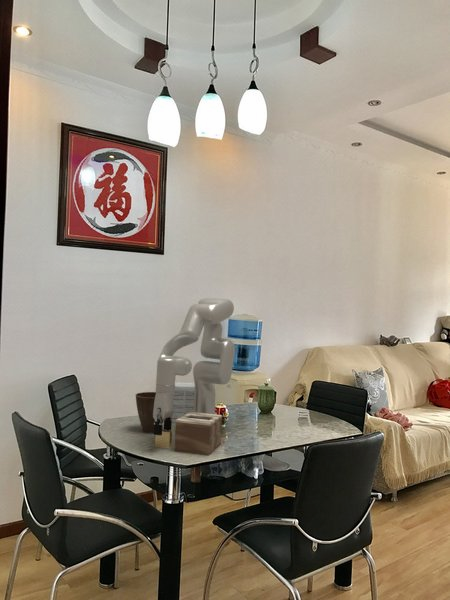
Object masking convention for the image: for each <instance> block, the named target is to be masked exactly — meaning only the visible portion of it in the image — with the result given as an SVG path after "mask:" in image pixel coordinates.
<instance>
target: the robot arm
mask: <svg viewBox="0 0 450 600" xmlns="http://www.w3.org/2000/svg"><path fill="white" fill-rule="evenodd" d="M234 310H235V305H234V303H233V302H232V300H230V299H228V298H211V297H210V298H208V297H207V298H206V297H205V298H202V299H200V300H199V301H198V303H194V304H191V306H190V307H189V309H188V312H187V313H186V317H185V318H184V321H183V323H182V325H181V328H180V331H179V332H178V333H177V334H175V335H174V336H173V337H171V339H170V340H168V341H167V342H166V344H164V345H163V347H162V350H161V352H160V355H159V356H158V359H157V361H156V364H157V365H156V377H155V378H156V379H155V392H156V396H155V401H154V409H153V418H154V432H153V435H155V436H156V435H160V436H161V435H162V430H168V431H172V423H173V422H172V415H173V394H174V393H175V382H176V376H187V375H189V374H190V373H191V371H192V374H193V383H194V385H195V393H194V412H195V413H205V414H215V415H216V395H217V394H216V389H215V386H214V385H213V384H216V385H227V384H229V382H230V380H231V377H232V373H233V366H234V361H235V354H236V348H235V343H234V342H233V341H232V340H231V339H230V338H229V339H228V338H222V336H223V325H222V323H221V322H224V321H225V320H228V319H229V318H230V317H231V316H232V315H233V313H234ZM202 331H203V333H202ZM201 333H202V338H201V343H200V344H201V345H200V355H201V356H202V357H203V358H205V359H210V360H211V359H212V360H219V361H218V362H217V361H210V360H201V361H200V360H199V361H198V362H196V363H195V364H194V366H193V363H192V362H191V359H189V358H187V357H184V356H176V355H175V354H176V353H177V352H178V351H180V349H182V348H184V347H187V346H189V345H191V344H194V343H196V342H198V341H199V339H200V336H201ZM192 368H193V369H192ZM159 419H160V420H159ZM163 419H164V420H163ZM162 422H163V423H162Z"/></svg>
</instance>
